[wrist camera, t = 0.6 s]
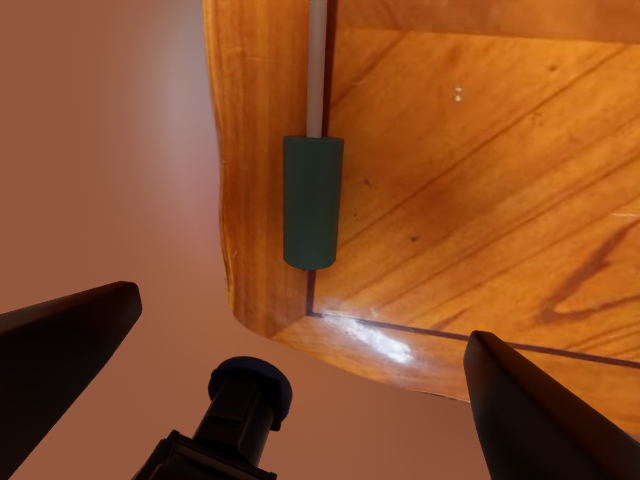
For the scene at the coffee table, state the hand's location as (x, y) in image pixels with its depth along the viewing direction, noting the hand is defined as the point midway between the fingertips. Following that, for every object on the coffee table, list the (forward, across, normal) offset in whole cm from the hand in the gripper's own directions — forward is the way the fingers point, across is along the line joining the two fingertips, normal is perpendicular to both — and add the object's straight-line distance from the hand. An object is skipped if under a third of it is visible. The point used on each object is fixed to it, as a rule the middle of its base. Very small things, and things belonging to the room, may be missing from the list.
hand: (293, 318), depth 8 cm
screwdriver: (+12, +1, -4) cm, 12 cm away
